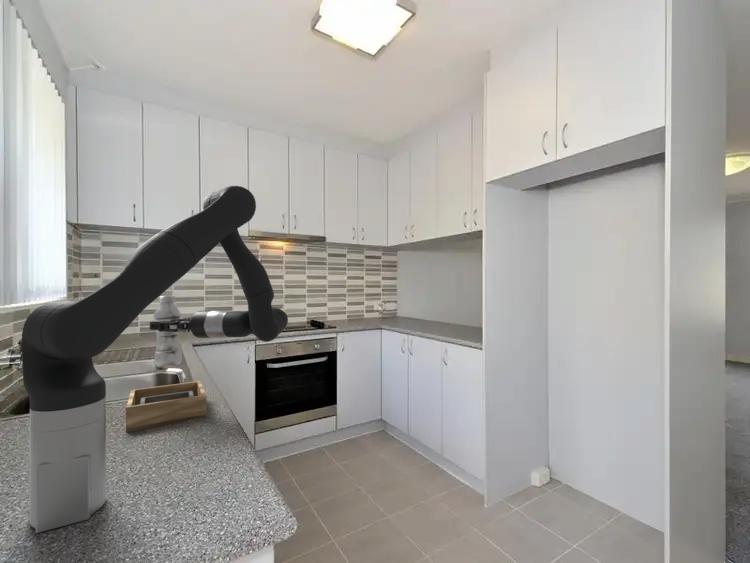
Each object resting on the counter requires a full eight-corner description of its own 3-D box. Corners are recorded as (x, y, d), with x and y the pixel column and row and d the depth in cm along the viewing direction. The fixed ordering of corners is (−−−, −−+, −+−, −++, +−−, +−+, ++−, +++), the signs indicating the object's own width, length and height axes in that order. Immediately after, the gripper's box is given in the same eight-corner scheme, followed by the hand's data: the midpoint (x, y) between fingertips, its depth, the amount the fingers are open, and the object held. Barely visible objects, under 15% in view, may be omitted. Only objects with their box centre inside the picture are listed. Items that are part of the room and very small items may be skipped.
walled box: (206, 417, 97) (206, 395, 97) (126, 432, 88) (125, 407, 88) (200, 400, 113) (200, 380, 113) (131, 410, 103) (131, 389, 103)
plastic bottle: (185, 366, 101) (184, 295, 101) (158, 371, 96) (157, 296, 96) (177, 363, 105) (176, 295, 105) (151, 367, 100) (150, 296, 100)
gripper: (228, 308, 105) (177, 309, 108) (196, 312, 91) (138, 313, 94) (229, 334, 105) (177, 334, 108) (197, 342, 91) (139, 341, 94)
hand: (160, 324), depth 101 cm, fingers closed on plastic bottle, 6 cm apart
